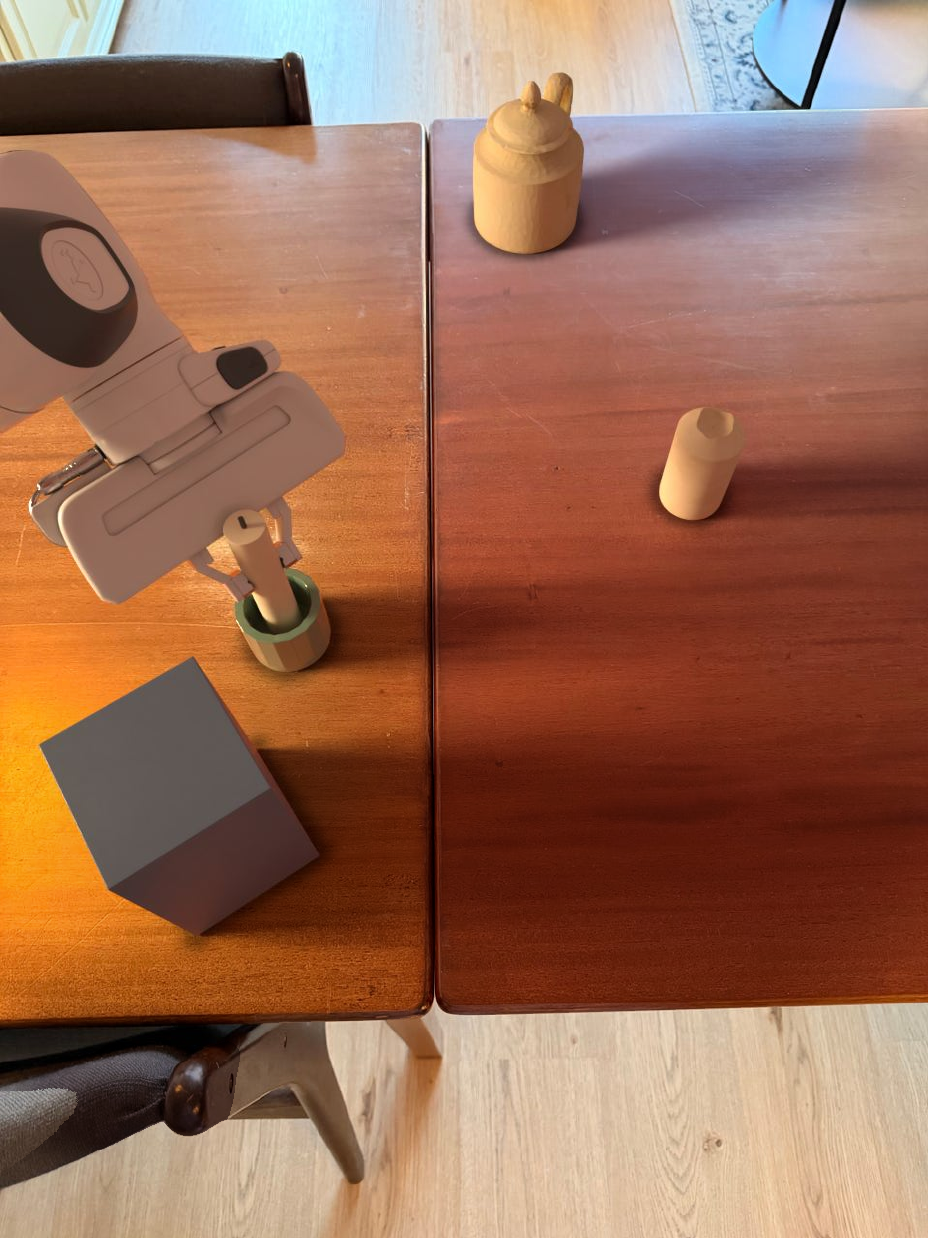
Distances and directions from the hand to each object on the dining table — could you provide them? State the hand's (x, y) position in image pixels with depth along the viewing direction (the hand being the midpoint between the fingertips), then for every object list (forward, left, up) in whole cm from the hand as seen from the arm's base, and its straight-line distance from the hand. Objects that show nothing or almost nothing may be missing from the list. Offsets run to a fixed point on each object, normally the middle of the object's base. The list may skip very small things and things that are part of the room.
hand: (269, 579), depth 65 cm
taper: (0, +1, -8) cm, 8 cm away
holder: (0, +1, -10) cm, 10 cm away
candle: (+36, -7, -10) cm, 38 cm away
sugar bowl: (+46, +32, -10) cm, 57 cm away
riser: (-12, -11, -10) cm, 19 cm away
